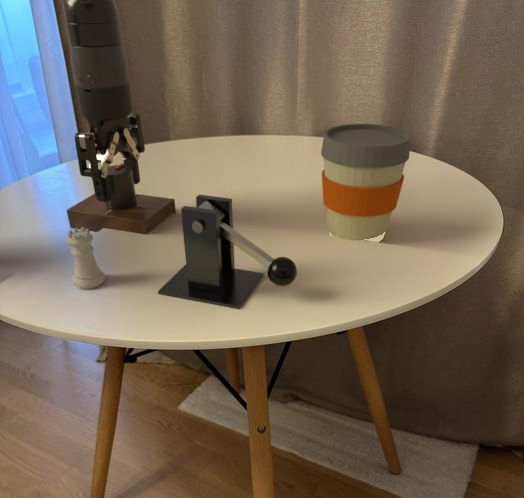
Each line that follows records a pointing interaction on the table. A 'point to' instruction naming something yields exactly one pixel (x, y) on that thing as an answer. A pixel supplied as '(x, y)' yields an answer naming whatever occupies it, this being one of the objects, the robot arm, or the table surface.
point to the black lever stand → (210, 259)
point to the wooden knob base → (121, 214)
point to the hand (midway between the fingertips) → (119, 191)
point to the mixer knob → (121, 187)
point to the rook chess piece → (84, 260)
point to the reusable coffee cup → (362, 177)
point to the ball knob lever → (258, 253)
